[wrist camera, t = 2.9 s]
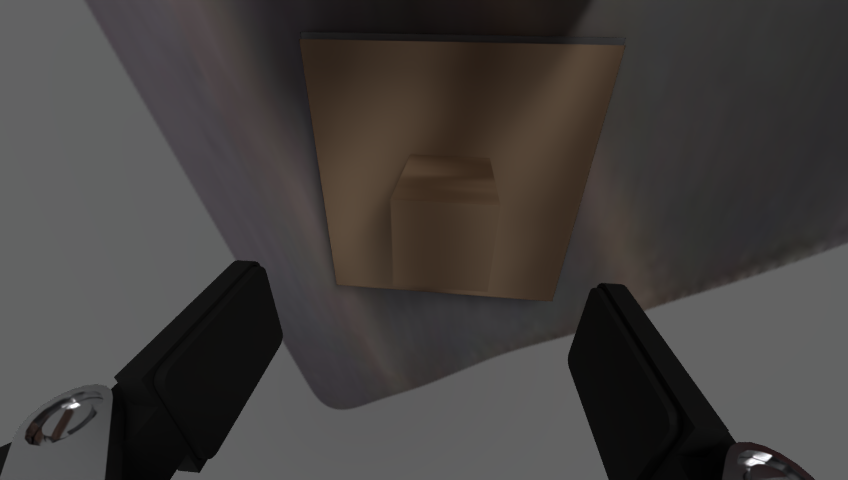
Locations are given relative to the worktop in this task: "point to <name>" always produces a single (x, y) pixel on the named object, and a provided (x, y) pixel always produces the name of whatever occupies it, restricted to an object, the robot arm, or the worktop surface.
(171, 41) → the worktop surface
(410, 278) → the lid
